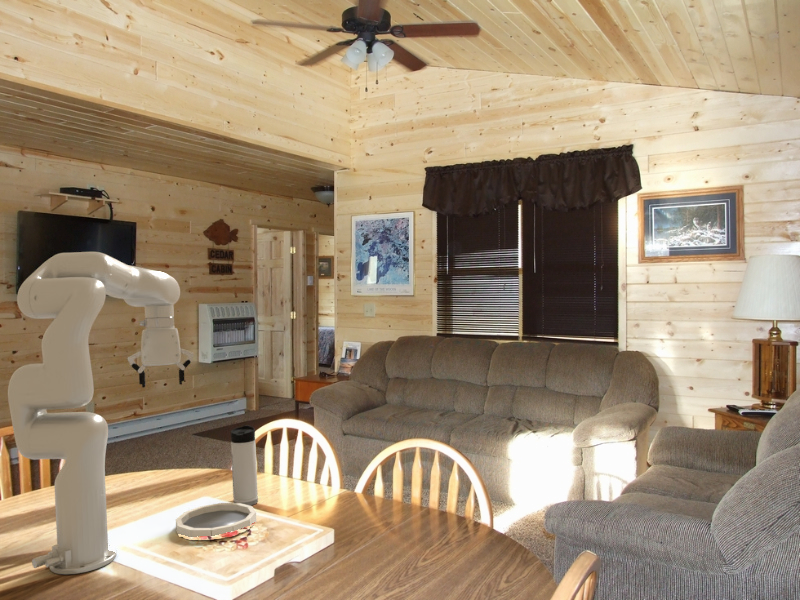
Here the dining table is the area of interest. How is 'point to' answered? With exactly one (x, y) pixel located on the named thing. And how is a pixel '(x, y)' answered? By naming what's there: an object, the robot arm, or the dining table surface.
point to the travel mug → (244, 465)
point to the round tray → (215, 519)
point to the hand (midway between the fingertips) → (162, 385)
